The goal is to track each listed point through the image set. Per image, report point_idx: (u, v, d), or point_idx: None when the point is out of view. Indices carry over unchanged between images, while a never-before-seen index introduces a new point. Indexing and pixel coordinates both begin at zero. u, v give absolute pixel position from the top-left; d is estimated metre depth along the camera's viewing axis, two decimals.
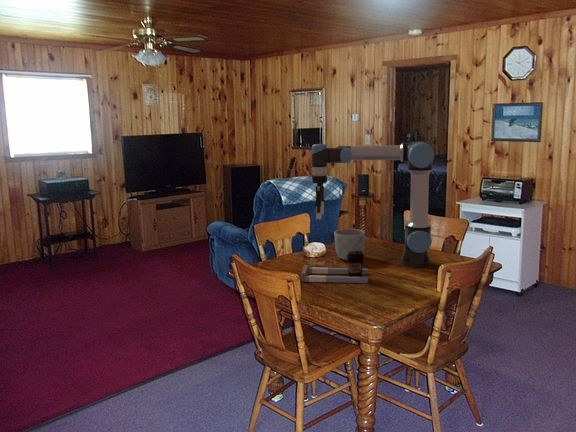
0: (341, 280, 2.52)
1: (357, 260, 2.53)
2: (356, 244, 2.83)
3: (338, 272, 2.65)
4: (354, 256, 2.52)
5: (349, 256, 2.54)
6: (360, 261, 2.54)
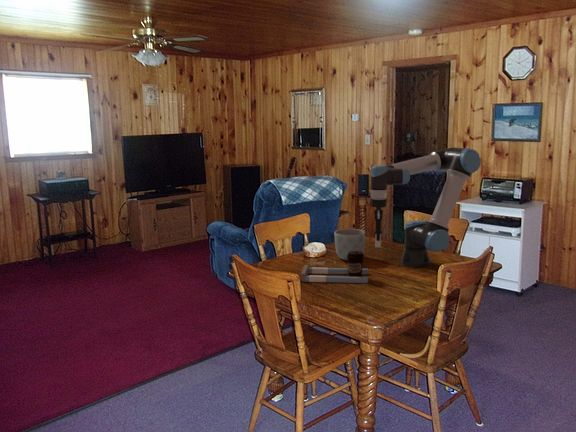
0: (341, 280, 2.52)
1: (357, 260, 2.53)
2: (356, 244, 2.83)
3: (338, 272, 2.65)
4: (354, 256, 2.52)
5: (349, 256, 2.54)
6: (360, 261, 2.54)
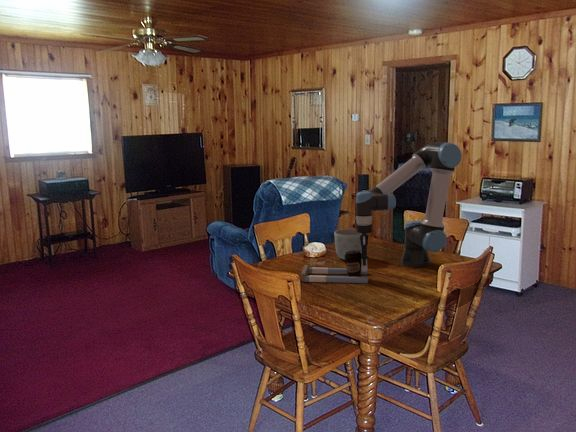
0: (341, 280, 2.52)
1: (355, 259, 2.53)
2: (356, 244, 2.83)
3: (338, 272, 2.65)
4: (351, 255, 2.52)
5: (347, 256, 2.54)
6: (358, 260, 2.54)
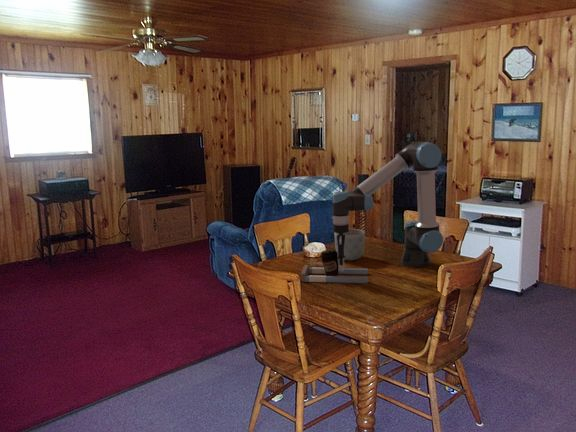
0: (341, 280, 2.52)
1: (331, 258, 2.55)
2: (356, 244, 2.83)
3: None
4: (327, 254, 2.54)
5: (322, 255, 2.56)
6: (334, 259, 2.56)
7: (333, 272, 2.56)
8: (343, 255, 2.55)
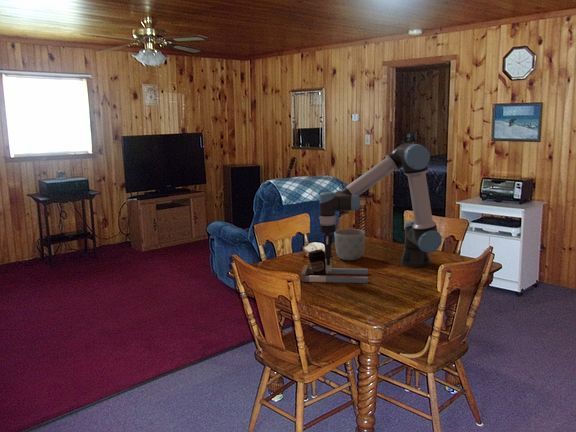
0: (341, 280, 2.52)
1: (318, 258, 2.56)
2: (356, 244, 2.83)
3: (338, 272, 2.65)
4: (315, 254, 2.55)
5: (310, 255, 2.57)
6: (322, 258, 2.57)
7: (320, 272, 2.57)
8: (330, 255, 2.56)
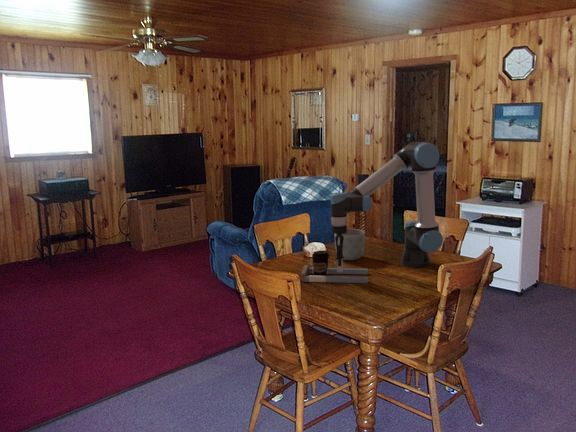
0: (341, 280, 2.52)
1: (322, 260, 2.55)
2: (356, 244, 2.83)
3: (338, 272, 2.65)
4: (319, 256, 2.54)
5: (314, 256, 2.56)
6: (325, 260, 2.56)
7: (322, 273, 2.57)
8: None
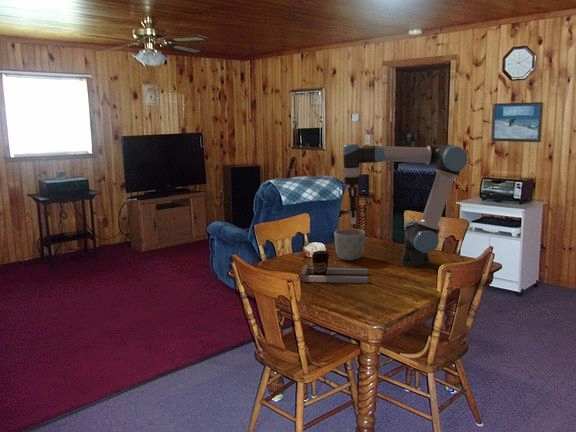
0: (341, 280, 2.52)
1: (322, 260, 2.55)
2: (356, 244, 2.83)
3: (338, 272, 2.65)
4: (319, 256, 2.54)
5: (314, 256, 2.56)
6: (325, 260, 2.56)
7: (322, 273, 2.57)
8: None
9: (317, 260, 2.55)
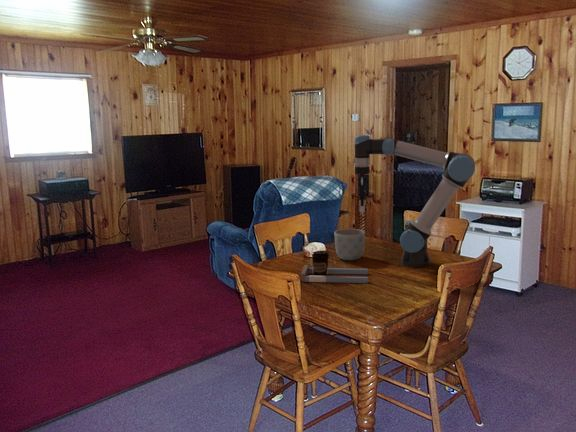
0: (341, 280, 2.52)
1: (322, 259, 2.55)
2: (356, 244, 2.83)
3: (338, 272, 2.65)
4: (319, 256, 2.55)
5: (314, 256, 2.56)
6: (325, 260, 2.57)
7: (322, 273, 2.57)
8: None
9: (317, 260, 2.55)
